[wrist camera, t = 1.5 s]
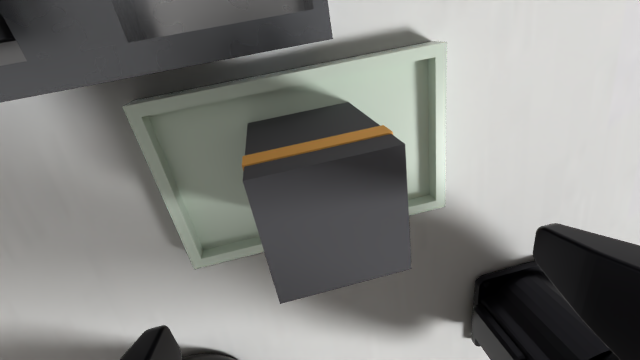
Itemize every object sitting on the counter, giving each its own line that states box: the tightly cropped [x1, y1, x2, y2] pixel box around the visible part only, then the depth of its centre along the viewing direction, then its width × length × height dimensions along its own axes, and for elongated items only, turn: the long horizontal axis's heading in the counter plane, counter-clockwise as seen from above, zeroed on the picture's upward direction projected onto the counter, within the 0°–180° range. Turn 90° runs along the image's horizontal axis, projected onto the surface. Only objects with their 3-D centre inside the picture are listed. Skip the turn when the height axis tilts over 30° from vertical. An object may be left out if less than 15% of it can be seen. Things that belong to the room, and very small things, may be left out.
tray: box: [122, 41, 447, 269], centre depth 15 cm, size 13×8×1 cm, turn 99°
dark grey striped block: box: [242, 102, 411, 304], centre depth 12 cm, size 5×5×6 cm
